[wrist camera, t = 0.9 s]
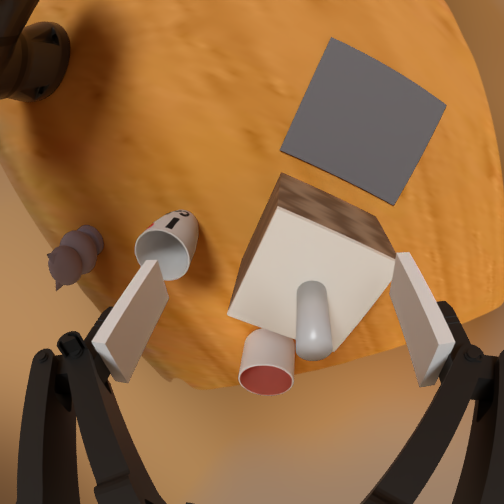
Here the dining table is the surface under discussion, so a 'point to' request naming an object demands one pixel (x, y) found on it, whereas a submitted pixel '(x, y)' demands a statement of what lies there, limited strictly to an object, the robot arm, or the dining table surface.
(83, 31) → the dining table surface
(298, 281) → the lid
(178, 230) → the cup
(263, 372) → the cup
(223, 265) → the dining table surface
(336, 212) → the box
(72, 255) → the cat figurine
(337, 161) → the mat
